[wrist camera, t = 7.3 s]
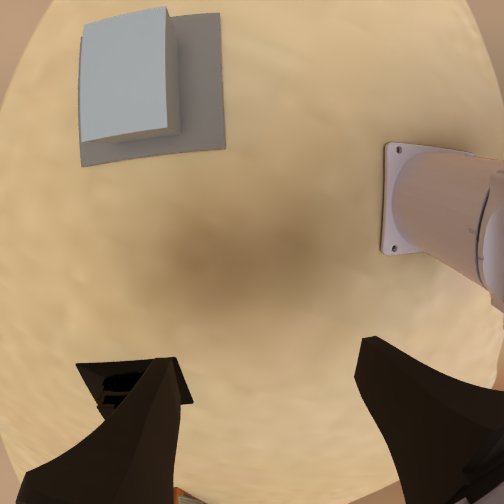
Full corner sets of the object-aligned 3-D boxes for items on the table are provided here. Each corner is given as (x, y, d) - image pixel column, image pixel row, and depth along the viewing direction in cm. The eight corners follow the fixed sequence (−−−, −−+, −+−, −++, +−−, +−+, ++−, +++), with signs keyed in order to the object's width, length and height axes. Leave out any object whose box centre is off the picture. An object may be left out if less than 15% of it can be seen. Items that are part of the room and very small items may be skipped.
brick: (178, 41, 14) (165, 6, 9) (181, 134, 16) (167, 127, 11) (114, 52, 14) (83, 25, 9) (116, 143, 16) (81, 142, 11)
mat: (219, 16, 14) (219, 12, 14) (225, 148, 17) (225, 148, 17) (84, 39, 13) (81, 36, 13) (85, 166, 16) (81, 167, 16)
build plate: (193, 340, 22) (191, 381, 18) (213, 403, 24) (215, 443, 20) (60, 353, 21) (40, 387, 17) (93, 410, 23) (82, 444, 19)
